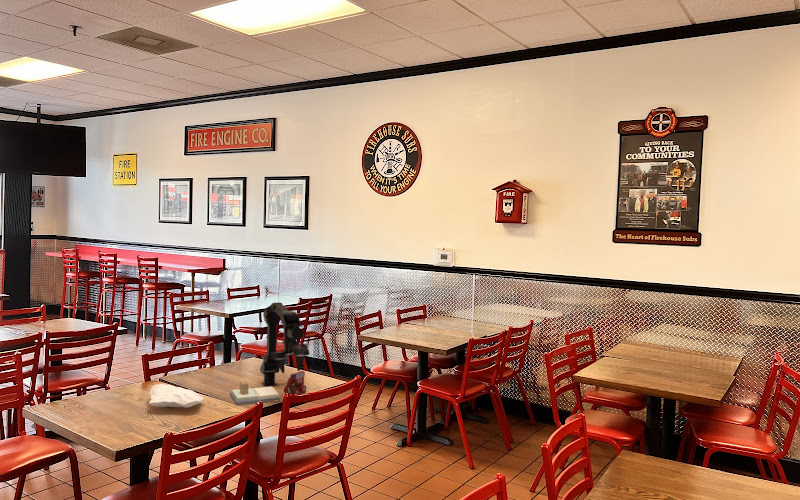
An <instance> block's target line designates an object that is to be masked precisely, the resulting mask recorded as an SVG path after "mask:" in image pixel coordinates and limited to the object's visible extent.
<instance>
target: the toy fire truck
mask: <svg viewBox="0 0 800 500" xmlns="http://www.w3.org/2000/svg"><path fill="white" fill-rule="evenodd" d="M305 373H306V372H305V371H304V370H300V371H298V372H295V373H291V374H290V375H289V377H288V379H287V382H286V385H285V386H284V387H283V393H284V392H285V393H284V394H286V393H289V394H292V395H293V394H298V395H299V394H304V393H306V392H307V386H306V385H305V376H306V375H305Z"/></svg>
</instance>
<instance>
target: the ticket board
mask: <svg viewBox="0 0 800 500" xmlns="http://www.w3.org/2000/svg"><path fill="white" fill-rule="evenodd" d="M251 389H252V390H253V391H254V393H255V394H256V395H257V399H248V400H238V401H237V399H236V397H235V396H234V394H233V393H232V391H229V396H230V397H231V398H232V401H233V402H234V403H235V405H236V406H243V405H252V404H258V403H257V402H259V401H262V402H263V403H262V404H264V402H265V403H270V402H269V401H274V400H280V401H281V398H280V394H279V392H278V391H276V389H275V388H274V387H273V386H264V387H262V386H261V387H253V388H251Z"/></svg>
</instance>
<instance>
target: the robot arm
mask: <svg viewBox="0 0 800 500" xmlns="http://www.w3.org/2000/svg"><path fill="white" fill-rule="evenodd" d="M262 315H263V318H264V319H263V320H264V323H265V324H266V327H267V328H266V329H267V330H266V331H267V332H266V333H267V334H266V354H265V355H264V357H263V360H262V364H261V366H260V367H259V369H260V373H261V374H262V375H263V381H262V382H261V384H262V385H263V386H264V387H271V386H270V385H273V386H277V385H278V384H277V382H276V373H278V374H279V373H280V372H281V373H282V374H285V361H286V360H287V359H286V358H285V357H290V356H295V357H294V358H295V362H296V368H297V371H298V372H300V371H301V368H302V364H303V362H304V360H305V359H306V358H307V357H308V356H309V355H310V350H309V349H308V344H306V343H303V344H299V340H301V339H302V338H303V336H304V331H303V329H302V328H301V326H302V323H301V319H300V317H299V315H298V314H297V312H295V311H294V310H289V309H288V308H286V307H285V305H284V304H283V303H282V302H280V301H279V302H273V303H271V304H270V305H269V306H267V307H266V308H265V309H264V310H263V313H262ZM280 323H281V324H282V326H283V328H282V329H283V341H282V342H281V343H282V344H283V345H284V346H283V348H284V349H282V351H277V330H278V329H277V326H279V324H280Z"/></svg>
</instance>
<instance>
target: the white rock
mask: <svg viewBox="0 0 800 500" xmlns="http://www.w3.org/2000/svg"><path fill="white" fill-rule="evenodd" d="M149 396H150V401H149V402H148V404H149V405H150V406H152V407H156V408H158V407H159V408H160V407H161V408H167V407H169V408H191V407H192V406H196V405H198V404H202V402H203V401H205V398H204V397H203V396H202V395H199V394H198V393H196V392H195V391H194V390H191V389H186V388H183V387H179V386H177V387H175V386H173V385H172V384H164V383H159V384H155V385H153V386H151V389H150V392H149Z"/></svg>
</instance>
